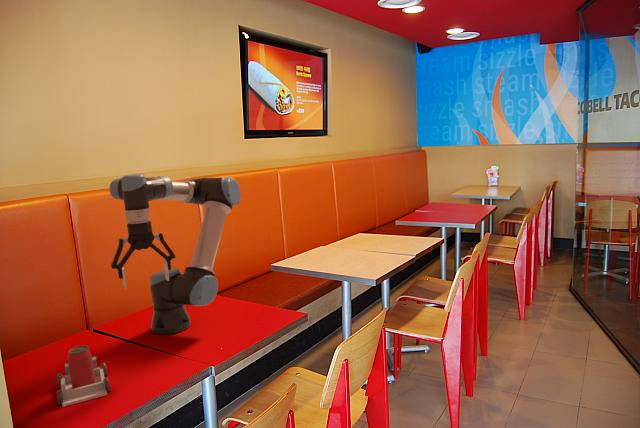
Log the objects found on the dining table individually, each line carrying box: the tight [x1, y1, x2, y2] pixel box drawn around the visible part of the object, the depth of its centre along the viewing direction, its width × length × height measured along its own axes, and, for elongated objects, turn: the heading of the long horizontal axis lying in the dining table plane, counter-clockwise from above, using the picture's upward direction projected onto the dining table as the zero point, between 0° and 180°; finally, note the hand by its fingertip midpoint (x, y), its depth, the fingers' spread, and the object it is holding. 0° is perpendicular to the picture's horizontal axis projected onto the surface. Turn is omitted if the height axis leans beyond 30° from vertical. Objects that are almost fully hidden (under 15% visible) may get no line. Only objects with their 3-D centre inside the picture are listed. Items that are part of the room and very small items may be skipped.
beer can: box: [67, 345, 95, 389], centre depth 152 cm, size 7×7×12 cm
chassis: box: [56, 356, 111, 408], centre depth 152 cm, size 17×14×6 cm
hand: (146, 283), depth 167 cm, fingers open, 13 cm apart
